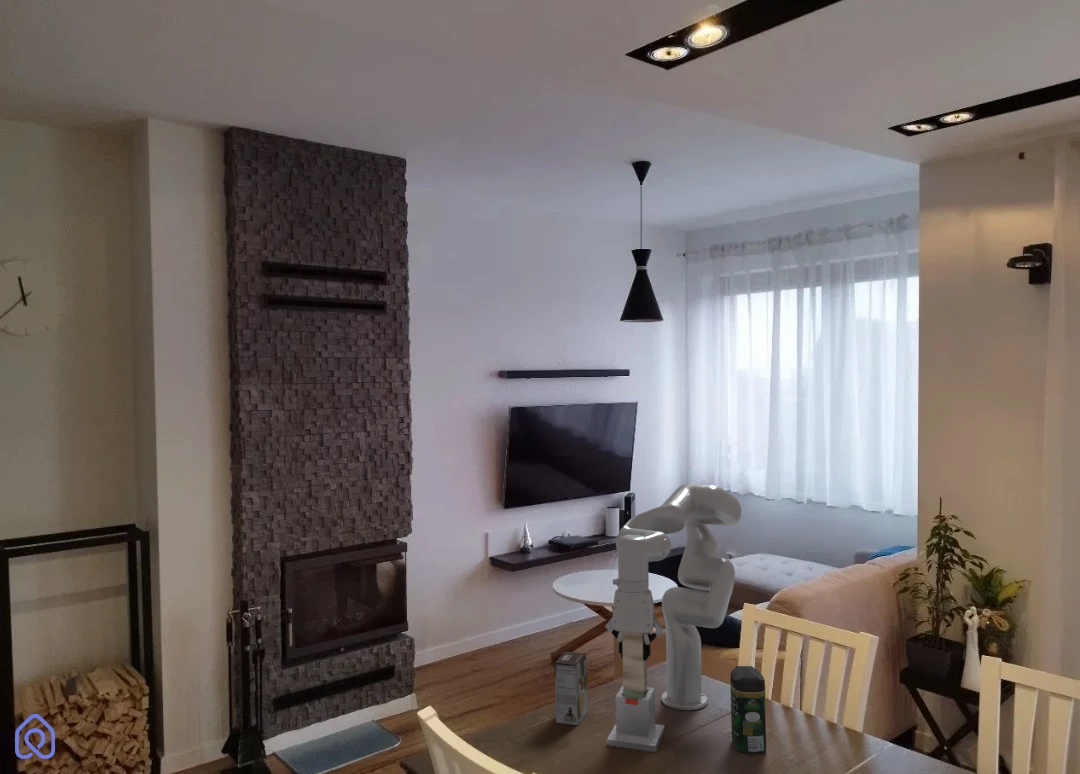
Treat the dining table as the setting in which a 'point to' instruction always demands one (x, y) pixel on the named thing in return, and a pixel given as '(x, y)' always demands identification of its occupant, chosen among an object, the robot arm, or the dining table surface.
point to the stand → (636, 723)
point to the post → (634, 665)
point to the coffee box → (571, 688)
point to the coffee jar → (748, 710)
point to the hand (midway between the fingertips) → (634, 656)
